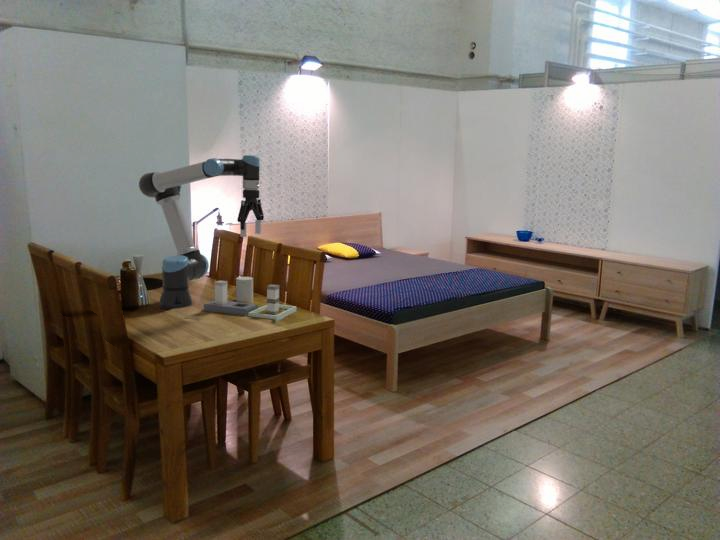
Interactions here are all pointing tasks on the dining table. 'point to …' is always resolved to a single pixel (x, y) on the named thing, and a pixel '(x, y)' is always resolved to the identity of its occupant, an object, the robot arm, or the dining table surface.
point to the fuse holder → (230, 307)
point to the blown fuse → (273, 299)
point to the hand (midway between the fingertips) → (251, 235)
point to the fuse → (221, 292)
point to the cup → (244, 289)
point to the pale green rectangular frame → (276, 317)
